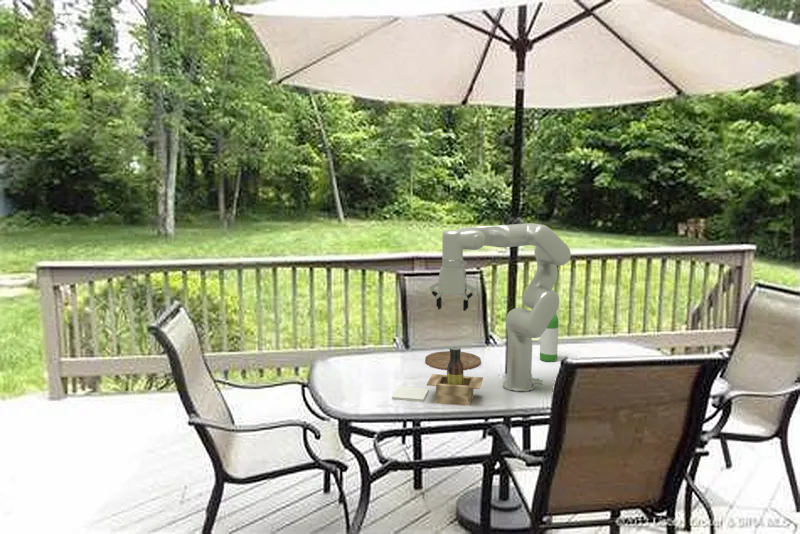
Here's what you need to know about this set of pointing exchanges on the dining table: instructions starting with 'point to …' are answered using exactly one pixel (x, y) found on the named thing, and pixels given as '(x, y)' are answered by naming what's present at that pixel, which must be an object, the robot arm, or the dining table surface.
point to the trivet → (443, 358)
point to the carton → (454, 389)
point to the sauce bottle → (455, 367)
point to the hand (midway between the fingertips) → (452, 309)
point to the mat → (410, 394)
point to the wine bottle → (549, 341)
